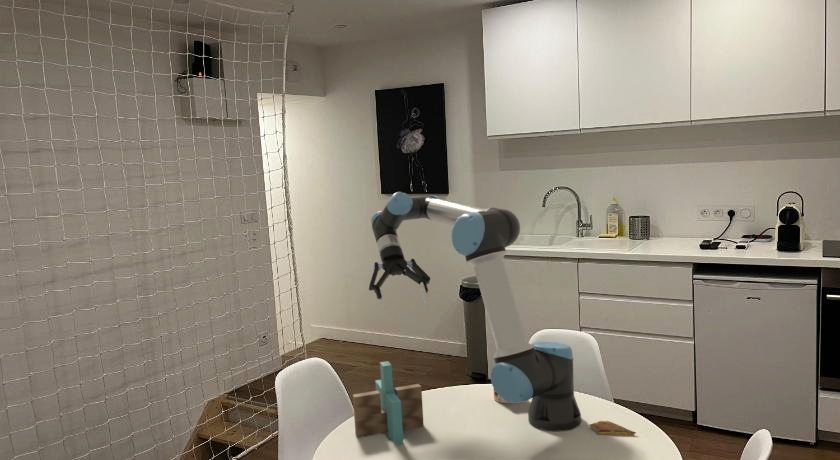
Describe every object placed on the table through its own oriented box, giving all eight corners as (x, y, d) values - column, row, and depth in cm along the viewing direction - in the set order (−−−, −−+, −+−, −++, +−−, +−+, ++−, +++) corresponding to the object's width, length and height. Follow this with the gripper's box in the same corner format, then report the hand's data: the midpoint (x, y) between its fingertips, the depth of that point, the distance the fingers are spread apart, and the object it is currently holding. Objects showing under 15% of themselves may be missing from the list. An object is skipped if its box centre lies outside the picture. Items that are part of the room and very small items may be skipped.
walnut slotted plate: (421, 422, 188) (418, 383, 186) (423, 425, 185) (421, 386, 184) (355, 434, 182) (352, 394, 181) (357, 437, 179) (354, 397, 178)
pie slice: (636, 437, 171) (636, 431, 171) (616, 445, 167) (616, 438, 167) (606, 424, 180) (606, 418, 180) (586, 431, 176) (586, 425, 176)
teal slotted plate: (377, 418, 193) (373, 355, 191) (385, 416, 193) (381, 353, 191) (394, 444, 174) (390, 374, 172) (403, 442, 174) (399, 373, 172)
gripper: (423, 254, 216) (440, 305, 203) (352, 261, 209) (365, 315, 196) (427, 240, 210) (445, 292, 198) (355, 247, 203) (368, 301, 190)
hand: (405, 303), depth 197 cm, fingers open, 13 cm apart
